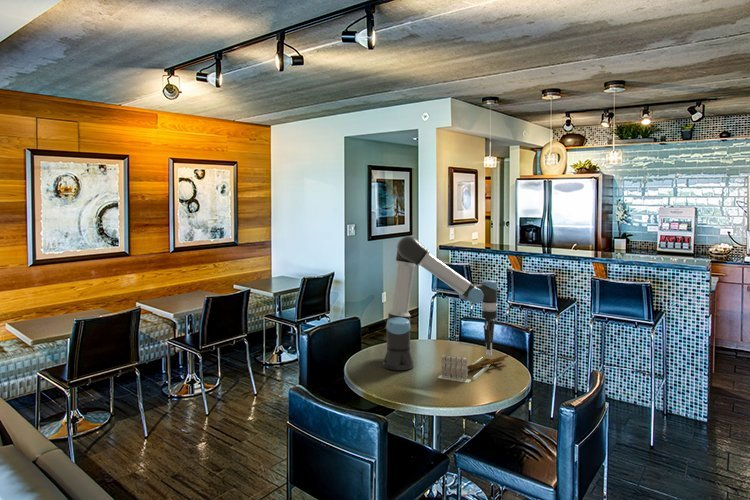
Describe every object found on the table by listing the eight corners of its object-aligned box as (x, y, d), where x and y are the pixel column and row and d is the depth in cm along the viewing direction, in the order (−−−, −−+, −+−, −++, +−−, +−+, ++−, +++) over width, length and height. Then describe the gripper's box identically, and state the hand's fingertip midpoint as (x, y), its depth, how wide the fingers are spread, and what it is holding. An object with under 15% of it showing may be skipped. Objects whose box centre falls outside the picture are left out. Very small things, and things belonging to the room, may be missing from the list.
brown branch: (463, 371, 241) (477, 367, 234) (462, 367, 242) (476, 363, 234) (498, 361, 256) (512, 357, 248) (496, 357, 256) (511, 354, 249)
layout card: (436, 378, 229) (436, 377, 229) (440, 375, 233) (440, 375, 233) (468, 382, 222) (468, 382, 222) (471, 380, 226) (471, 379, 226)
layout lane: (458, 378, 229) (458, 374, 229) (482, 359, 261) (482, 356, 261) (474, 380, 225) (474, 377, 225) (496, 361, 258) (496, 358, 258)
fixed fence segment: (466, 380, 224) (466, 358, 224) (441, 377, 230) (441, 355, 230) (467, 379, 226) (467, 357, 225) (442, 376, 232) (442, 354, 231)
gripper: (493, 312, 251) (492, 359, 252) (499, 309, 262) (499, 353, 263) (478, 311, 254) (478, 357, 255) (485, 308, 266) (485, 351, 267)
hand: (488, 355), depth 259 cm, fingers closed
